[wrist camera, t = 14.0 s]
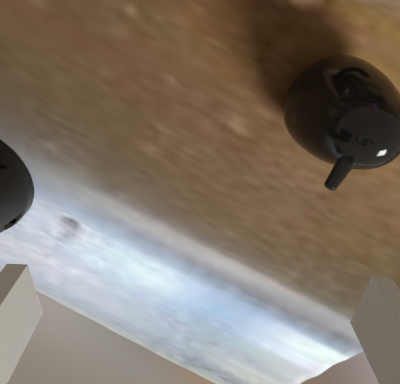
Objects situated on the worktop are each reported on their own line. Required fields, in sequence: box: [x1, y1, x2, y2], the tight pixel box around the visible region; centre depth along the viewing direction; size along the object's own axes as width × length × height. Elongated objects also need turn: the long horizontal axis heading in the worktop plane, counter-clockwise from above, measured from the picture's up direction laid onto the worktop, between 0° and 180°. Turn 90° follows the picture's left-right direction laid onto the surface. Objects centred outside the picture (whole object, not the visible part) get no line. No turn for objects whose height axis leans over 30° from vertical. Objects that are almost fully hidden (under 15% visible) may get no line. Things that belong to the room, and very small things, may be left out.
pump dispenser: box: [284, 55, 400, 191], centre depth 30 cm, size 10×10×15 cm
